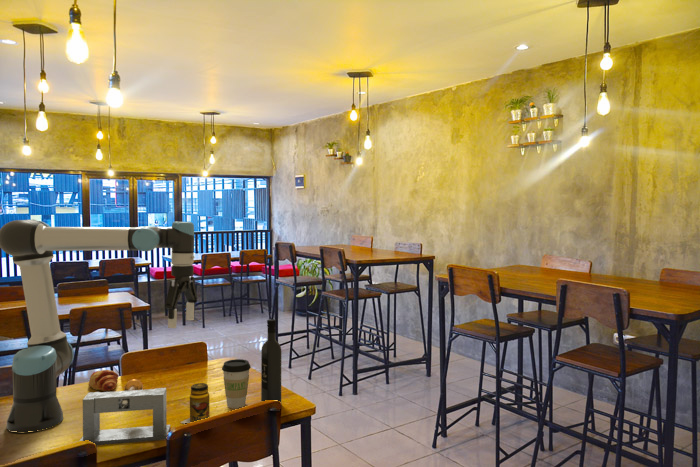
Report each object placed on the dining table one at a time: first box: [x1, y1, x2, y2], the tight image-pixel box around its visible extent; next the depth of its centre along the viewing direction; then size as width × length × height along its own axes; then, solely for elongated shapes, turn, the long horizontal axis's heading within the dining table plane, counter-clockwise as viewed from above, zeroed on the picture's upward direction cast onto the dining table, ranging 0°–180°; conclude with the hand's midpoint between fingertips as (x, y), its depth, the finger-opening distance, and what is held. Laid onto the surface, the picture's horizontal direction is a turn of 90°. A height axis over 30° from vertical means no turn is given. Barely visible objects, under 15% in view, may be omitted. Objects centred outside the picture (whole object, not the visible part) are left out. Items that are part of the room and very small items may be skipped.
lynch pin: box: [120, 378, 144, 407], centre depth 156 cm, size 5×14×5 cm, turn 12°
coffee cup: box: [221, 358, 251, 409], centre depth 177 cm, size 10×10×15 cm
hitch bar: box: [79, 387, 171, 446], centre depth 151 cm, size 24×8×13 cm, turn 102°
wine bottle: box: [260, 318, 282, 403], centre depth 178 cm, size 6×6×30 cm
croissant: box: [88, 369, 119, 392], centre depth 196 cm, size 21×10×8 cm, turn 42°
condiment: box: [180, 382, 210, 425], centre depth 163 cm, size 7×8×12 cm
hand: (181, 324), depth 182 cm, fingers open, 13 cm apart
